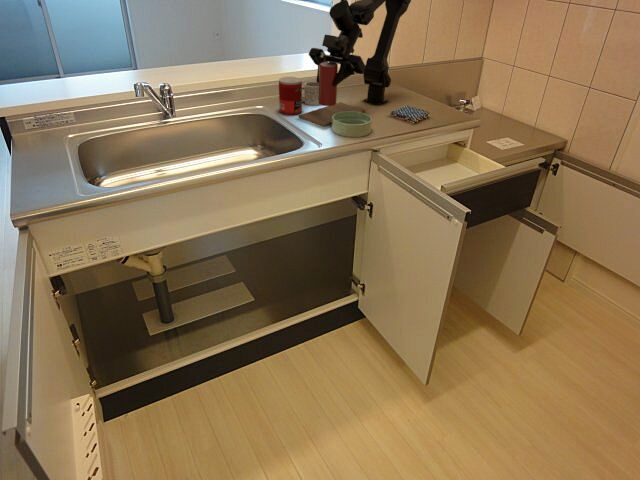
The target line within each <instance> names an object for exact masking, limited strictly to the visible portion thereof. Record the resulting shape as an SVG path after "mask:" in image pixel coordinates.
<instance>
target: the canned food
mask: <svg viewBox="0 0 640 480" xmlns="http://www.w3.org/2000/svg"><path fill="white" fill-rule="evenodd" d="M302 86H303V81H302V78H299V77H296V76H283V77H280V78H278V101H279V111H280V113H282V114H283V115H289V116H293V115H295V116H296V115H300V114H301V113H302V110H303V101H302V97H303V89H302Z"/></svg>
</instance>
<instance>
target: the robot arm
mask: <svg viewBox="0 0 640 480" xmlns="http://www.w3.org/2000/svg"><path fill="white" fill-rule="evenodd" d="M411 2H412V0H356V1H354V2H352V3H350V4H349V1H348V0H340V1H339V2H336V3H335V4H334V5H332V6H331V7H330V9H329V16H330V18H331V20H332V22H333V23H334V25H335V27H336V30H338V31H340V32H339V35H338V36H337V35H331V34H324V37H323V40H322V43H321V46H322V47H325V48H327V49H326V51H327V53H329V54H326V53H325V52H324V49H323V48H318V47H312V48H310V50H309V52H308V56H309V58H310V60H312V62H313V63H314V65H316V66H317V72H316V82H317V83H319V64H320V63H323V62H333V63H337V64H338V65H339V68H338V72H337V75H336V77H335V79H334V82H333V84H332V85H333V87H335V86H336V85H337V86H338V85H339V84H341V83H342V82H343V81H345V80H346V79H347V78H349V77H350V76H354V75H355V74H359V75H362V76H363V83H364V85H368V89H367V96H366V98H364V99H363V101H364V102H367V103H370V104H374V105H380V104H383V103H387V102H388V99H385V94H386V92H385V91H386V88H389V87H390V86H391V82H392V78H391V76H390V74H389V69H390V67H389V62H388V57H389V54H390V51H391V48H392V44H393V42H394V38H395V34H396V31H397V28H398V25H399V22H400V19H401V17H402V16H403V15H404V14H405V13H406V12H407V11H408V9H409V6H410V4H411ZM383 4H384V6H385V11H386V14H385V18H384V21H383V25H382V27H381V31H380V34H379V38H378V41H377V45H376V46H375V51H374V54H373V55H372V56H371V57H367V59H366V62H364V60H363V58H362V57H361V55H356V54H354V52H355V45H356V43H357V40H358V39H359V38H360V39H362V38H363V36H364V35H363V34H364V33H363V30H362V28H361V27H360V26H368V25H370V23H371V22H372V20H373V19H374V18H375V12H376V11H377V10H378V9H379V8H380V7H381V6H382V5H383Z"/></svg>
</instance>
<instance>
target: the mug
mask: <svg viewBox="0 0 640 480" xmlns="http://www.w3.org/2000/svg"><path fill="white" fill-rule="evenodd" d="M302 90H304V96H302V102H304V104H305V105H308V106H319V105H320V104H319V103H318V98H319V83H317V81H308V82H304V85H302ZM320 106H321V105H320Z"/></svg>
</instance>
